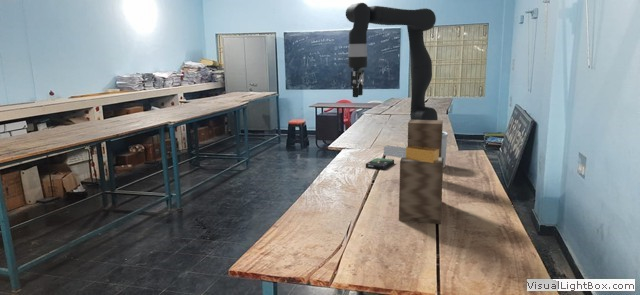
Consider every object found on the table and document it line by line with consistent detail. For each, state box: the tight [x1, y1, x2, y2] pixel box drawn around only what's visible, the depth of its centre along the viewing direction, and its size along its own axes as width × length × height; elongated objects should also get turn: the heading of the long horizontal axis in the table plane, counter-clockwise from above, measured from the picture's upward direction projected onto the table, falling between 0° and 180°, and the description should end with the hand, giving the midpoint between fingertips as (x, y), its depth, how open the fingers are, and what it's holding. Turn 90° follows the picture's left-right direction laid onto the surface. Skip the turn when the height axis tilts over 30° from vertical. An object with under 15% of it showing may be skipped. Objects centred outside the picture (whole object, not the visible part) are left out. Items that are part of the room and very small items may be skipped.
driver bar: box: [383, 145, 439, 163], centre depth 144 cm, size 19×4×4 cm, turn 51°
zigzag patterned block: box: [398, 119, 444, 225], centre depth 151 cm, size 14×23×32 cm, turn 163°
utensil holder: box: [441, 130, 449, 169], centre depth 214 cm, size 15×15×18 cm
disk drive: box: [365, 157, 395, 171], centre depth 218 cm, size 10×3×15 cm
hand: (357, 96), depth 171 cm, fingers open, 8 cm apart
